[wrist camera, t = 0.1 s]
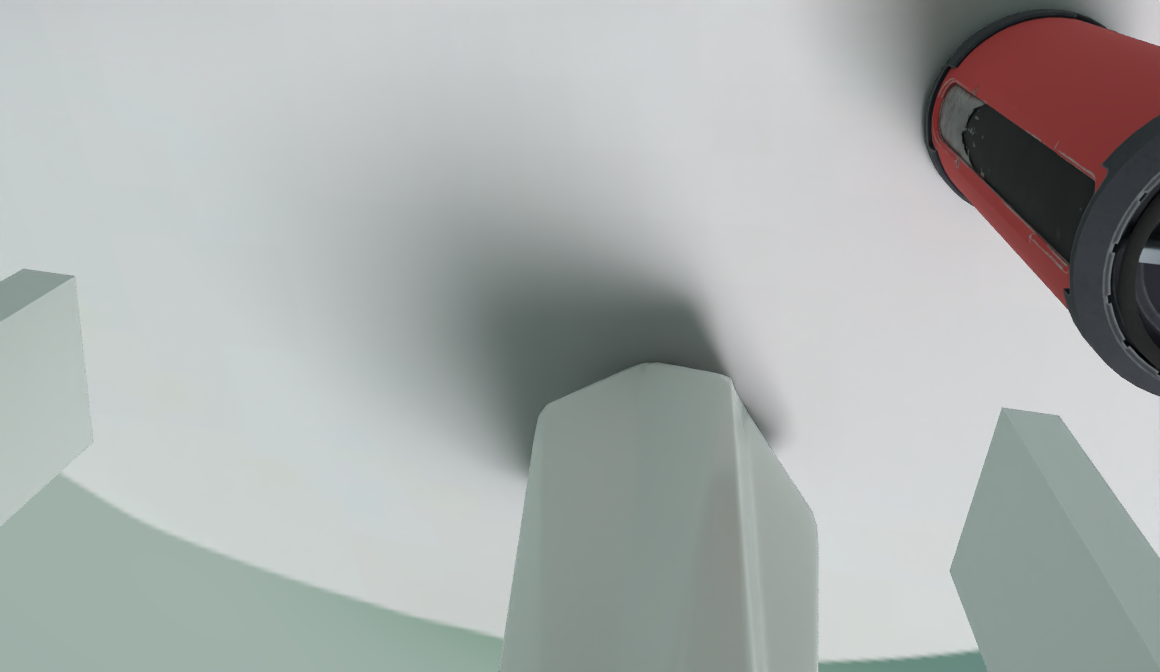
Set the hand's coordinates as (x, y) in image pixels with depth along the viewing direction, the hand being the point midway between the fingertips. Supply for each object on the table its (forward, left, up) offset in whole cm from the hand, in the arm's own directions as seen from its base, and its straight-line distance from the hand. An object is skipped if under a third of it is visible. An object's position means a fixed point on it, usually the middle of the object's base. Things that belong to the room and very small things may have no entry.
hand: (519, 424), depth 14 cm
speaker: (-1, +15, -28) cm, 32 cm away
